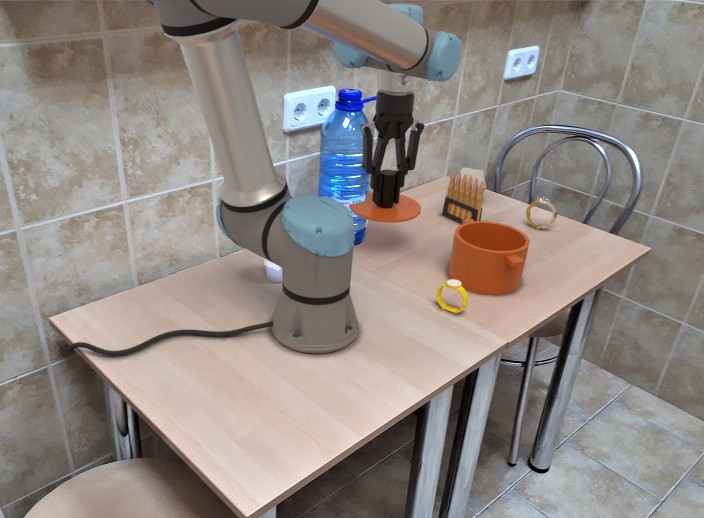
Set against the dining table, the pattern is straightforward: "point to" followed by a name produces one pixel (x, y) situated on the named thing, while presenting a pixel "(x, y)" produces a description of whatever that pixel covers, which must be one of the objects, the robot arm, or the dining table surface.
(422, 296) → the dining table surface
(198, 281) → the dining table surface
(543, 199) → the ring
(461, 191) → the ammunition clip
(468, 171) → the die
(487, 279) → the pot
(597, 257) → the dining table surface
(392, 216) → the lid
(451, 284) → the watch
